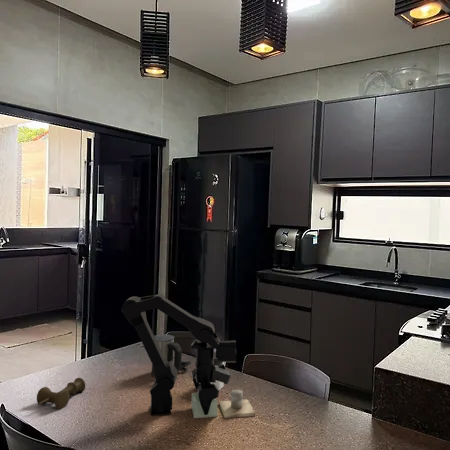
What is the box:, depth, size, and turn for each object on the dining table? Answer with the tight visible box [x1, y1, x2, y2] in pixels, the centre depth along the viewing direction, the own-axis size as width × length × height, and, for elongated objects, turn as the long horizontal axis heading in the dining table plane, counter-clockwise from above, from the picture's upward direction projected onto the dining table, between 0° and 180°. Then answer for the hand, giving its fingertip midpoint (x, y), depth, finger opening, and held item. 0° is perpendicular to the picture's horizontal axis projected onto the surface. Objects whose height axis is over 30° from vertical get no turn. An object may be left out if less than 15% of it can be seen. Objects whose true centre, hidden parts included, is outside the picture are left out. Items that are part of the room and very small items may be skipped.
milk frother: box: [150, 334, 192, 377], centre depth 177 cm, size 14×16×15 cm
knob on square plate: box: [218, 389, 256, 419], centre depth 143 cm, size 10×10×6 cm
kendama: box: [36, 377, 86, 410], centre depth 147 cm, size 6×10×20 cm
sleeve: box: [190, 392, 218, 419], centre depth 141 cm, size 7×7×5 cm
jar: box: [210, 351, 225, 392], centre depth 162 cm, size 9×8×12 cm
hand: (203, 408), depth 141 cm, fingers open, 9 cm apart
